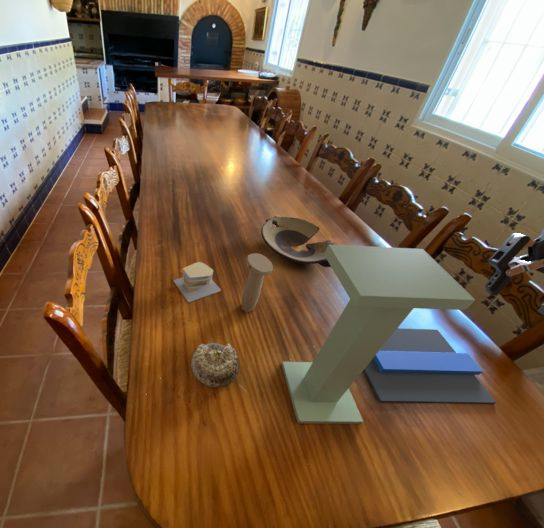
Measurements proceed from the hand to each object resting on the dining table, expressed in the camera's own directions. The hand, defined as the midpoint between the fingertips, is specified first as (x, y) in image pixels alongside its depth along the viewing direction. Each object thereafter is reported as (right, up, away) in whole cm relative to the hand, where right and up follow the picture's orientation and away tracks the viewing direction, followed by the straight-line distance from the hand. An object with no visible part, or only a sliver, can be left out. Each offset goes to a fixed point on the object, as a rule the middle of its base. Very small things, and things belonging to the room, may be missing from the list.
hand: (516, 304), depth 51 cm
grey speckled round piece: (-51, -14, +11) cm, 54 cm away
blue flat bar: (-5, -15, +14) cm, 21 cm away
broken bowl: (-22, +10, +43) cm, 50 cm away
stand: (-31, -18, +8) cm, 37 cm away
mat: (-7, -15, +15) cm, 22 cm away
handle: (-42, -4, +24) cm, 48 cm away
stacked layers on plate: (-54, +1, +29) cm, 62 cm away
